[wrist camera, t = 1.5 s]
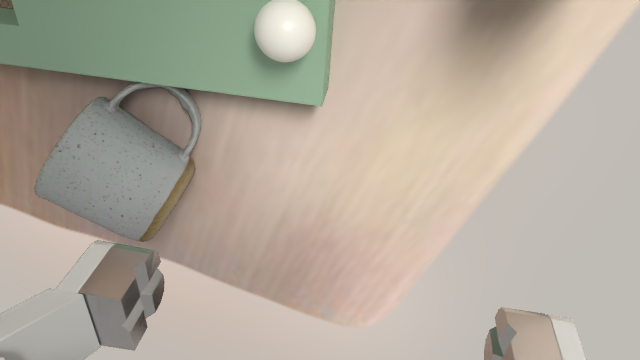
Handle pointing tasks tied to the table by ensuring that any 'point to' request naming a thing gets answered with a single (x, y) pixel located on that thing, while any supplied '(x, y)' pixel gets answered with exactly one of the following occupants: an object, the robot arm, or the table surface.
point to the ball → (285, 30)
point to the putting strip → (166, 45)
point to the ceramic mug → (119, 167)
